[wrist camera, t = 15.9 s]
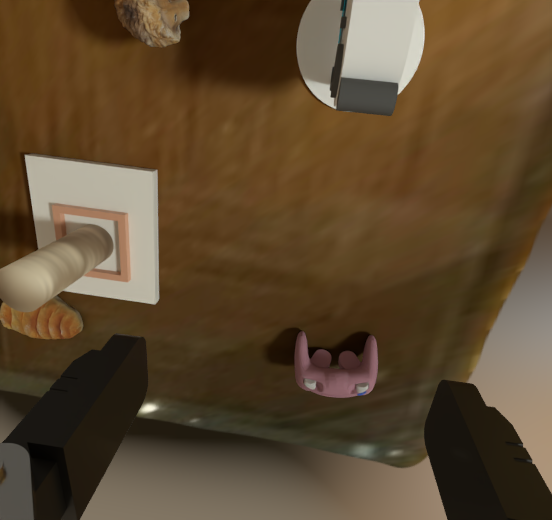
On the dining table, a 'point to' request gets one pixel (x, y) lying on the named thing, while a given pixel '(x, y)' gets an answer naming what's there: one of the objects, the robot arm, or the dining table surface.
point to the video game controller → (336, 370)
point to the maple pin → (53, 268)
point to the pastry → (44, 320)
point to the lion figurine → (153, 19)
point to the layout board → (101, 220)
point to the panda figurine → (360, 51)
